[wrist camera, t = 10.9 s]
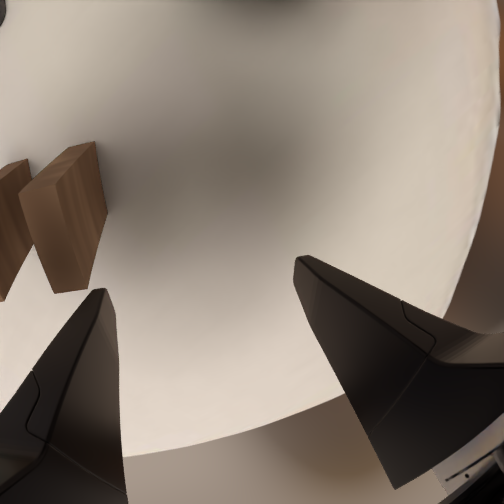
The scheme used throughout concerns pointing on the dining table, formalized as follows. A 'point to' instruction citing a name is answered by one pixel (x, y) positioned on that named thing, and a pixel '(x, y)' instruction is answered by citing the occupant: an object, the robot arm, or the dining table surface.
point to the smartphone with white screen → (2, 10)
